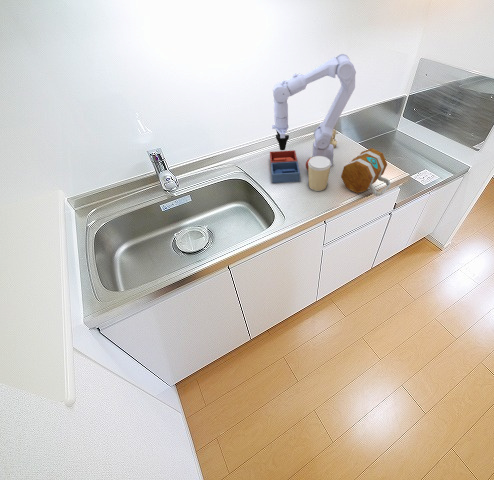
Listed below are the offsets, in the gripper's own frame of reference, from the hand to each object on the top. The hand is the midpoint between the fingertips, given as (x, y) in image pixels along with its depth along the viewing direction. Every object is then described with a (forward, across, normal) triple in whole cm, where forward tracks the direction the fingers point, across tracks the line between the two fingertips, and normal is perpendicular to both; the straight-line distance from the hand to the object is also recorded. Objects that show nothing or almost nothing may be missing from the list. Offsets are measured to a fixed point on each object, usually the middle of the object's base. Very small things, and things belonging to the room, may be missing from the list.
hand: (281, 145), depth 125 cm
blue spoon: (+9, +11, 0) cm, 14 cm away
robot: (+10, -15, +25) cm, 30 cm away
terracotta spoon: (+9, +1, 0) cm, 9 cm away
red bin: (+9, +1, 0) cm, 9 cm away
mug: (+4, +27, +30) cm, 40 cm away
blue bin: (+9, +11, 0) cm, 14 cm away
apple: (+10, +9, +14) cm, 19 cm away
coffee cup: (+10, +19, +14) cm, 25 cm away
